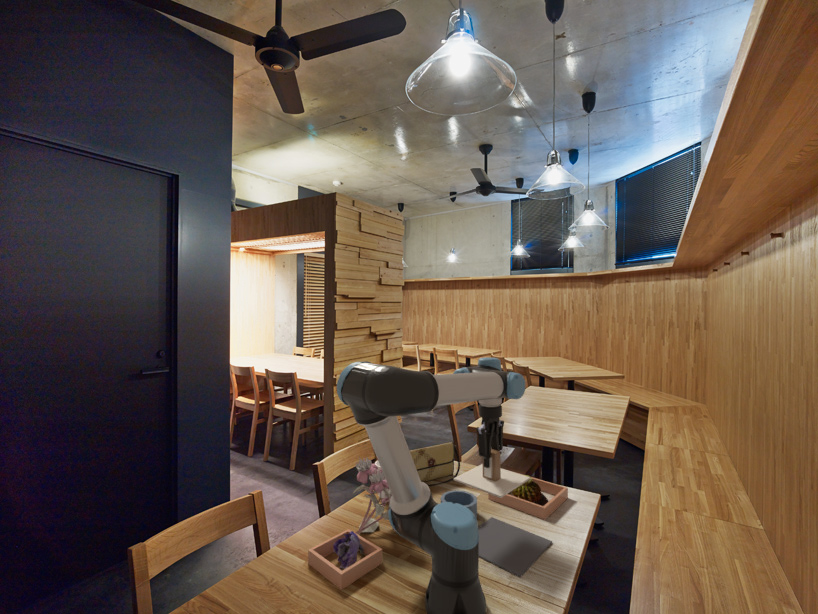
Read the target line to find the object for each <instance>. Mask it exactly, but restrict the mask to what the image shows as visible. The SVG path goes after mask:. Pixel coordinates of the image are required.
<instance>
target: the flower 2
mask: <svg viewBox="0 0 818 614" xmlns="http://www.w3.org/2000/svg"><path fill="white" fill-rule="evenodd" d="M358 459H359V460H358V461H357V462H355V468H356V469H357V471H358V473H357V475H356V480H357V482H360V483H361V485H360V486H359V487H357V488H356V489H354V490H353V493H352V495H354V494H355V493H358V492H361V491H362V490H365V491H366V492H367V493H368V494H365V493H364V495H363V498H365V497H366V498H367V499H369V503H368V507H367V511H366V512H365V515H364V516H363V519H362V521H361V523H360V525H359V527H358V530H356V531H354V533H356V534H358V535H359V534H361V533H374V532H376V530H377V528H378V527H379V524H380V523H379V521H381V520H382V519H383V520H386V521H389V516H388V511H389V510H390V507H389V505H390V499H391V496H392V494H391V491H390V490H389V486H388V484H387V481H386V480H384V479H385V476H384V474H383V471H382V470H379V471H377V469H378V467H377V466H376V465H375V463H372V460H370V459H369V458H368V456H366V458H363V459H362V458H361V457H360V456H358ZM380 469H381V467H380ZM368 480H369V481H370V483H371V484H370V486H367V485H366V484H368ZM382 491H384V492H385V496H386V497H387V498H384V499H383V498H381V492H382ZM378 493H380V497H379V498H377V496H376V494H378ZM380 502H381V503H380ZM372 503H373V504H372ZM387 503H388V508H387V510H385V506H386V505H387ZM371 507H374V508H373V510H372V511H371V512H370V510H371ZM369 512H370V514H369ZM374 514H375V515H374ZM373 515H374V518H372V517H373ZM378 516H380V517H378ZM376 518H377V519H376ZM391 527H392V526H391ZM392 530H393V531H395V530H394V529H393V527H392Z"/></svg>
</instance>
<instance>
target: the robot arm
mask: <svg viewBox="0 0 818 614" xmlns="http://www.w3.org/2000/svg"><path fill="white" fill-rule="evenodd" d="M477 361H478V362H477V365H473V366H467V367H465V366H464V367H461V368H457V369H455V370H454V371H453V373H443V374H433V373H431V372H430V371H428V370H426V371H425V370H412V369H405V368H402V367H398V366H394V365H386V364H380V363H372V362H370V361H355V362H351V363H350V364H349V365H347V366H346V367H345V368H344V369H343V370H342V371H341V373H340V374H339V377H338V379H337V381H336V394H337V397H338V399H339V400H340V401H341V402H342V403H343V404H344V405H346V406H348V407H349V408H350V410H351V413H352V415H353V418H354V420H355V422H356V423H357V425H359V426H363V427H364V428H365V430H366V433H367V436H368V439H369V441H370V443H371V446H372V448H373V451H374V454H375V456H376V459H377V461H379V464H380V466H381V469H382V471H383V474H384V476H385V479H386V481H387V484H388V486H389V489H390V491H391V494H392V496H391V499H390V505H389V504H388V508H389V507H390V509H389V511H388V516H389V520H388V522H389V523H390V526H391V527H393V528H392V530H393V529H394V530H393V531H394V532H396V533H397V534H398V535H399V536H400V537H402V538H404V539H405V540H408V541H409V542H410V543H411V544H413V545H415V546H416V547H418V548H420V550H422V551H424V552H425V553H427V554H428V555H429V556H430V557H431V576H430V579H429V580H428V584H427V588H426V591H425V594H424V595H425V596H424V607H425V608H424V609H425V612H426V614H487V601H486V600H487V599H486V596H485V593H484V590H483V588H482V584H481V580H480V577H479V567H480V566H479V565H480V564H479V558H480V557H479V531H478V527H479V525H478V520H477V519H476V517H475V515H474V514H473V512H472V511H471V510H470V509H468V508H467V507H465V506H463V505H461V504H458V503H455V504H453V503H452V502H443V503H441V502H440V503H438V502H436V501H435V499H434V497H433V494H432V492H431V489H430V486H428V485H429V484H427V483H425V482H421V480H420V478H419V475H418V472H417V470H416V467H415V464H414V462H413V459H412V456H411V454H410V449H409V446H408V443H407V441H406V437H405V435H404V432H403V429H402V427H401V425H400V422H399V419H398V417H401V416H403V417H404V416H411V415H416V414H417V415H418V414H421V413H429V412H431V411H433V410H435V409H436V407H440V406H449V405H456V404H464V403H471V402H478V403H479V405H478V415H479V416H480V418H481V423H480V426H477V427H476V433H477V442H478V443H477V445H478V456H479V457H483V458H484V476H486V477H489V478H492V457H491V449H494V450H497V451H500V455H502V453H503V452H502V451H503V447H504V445H503V443H504V425H505V421H504V420H501V418H502V416H503V406H502V405H501V404H502V403H503V402H502V400H503V398H505V399H509V400H520V399H521V398H522V397H523V396H524V395H525V391H526V380H525V377H524V376H523V374H521V373H518V372H513V371H506V370H502V361H501V360H500V358H497V357H485V356H484V357H480V358H479V359H478V360H477Z"/></svg>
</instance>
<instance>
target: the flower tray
mask: <svg viewBox="0 0 818 614" xmlns="http://www.w3.org/2000/svg"><path fill="white" fill-rule="evenodd" d="M351 531H352V530H351V529H349V528H348V529H345V530H343V531H342V532H340V533H338V534H336V535H333V536H332V537H330V538H327V540H324V541H323V542H320V543H318V544H317V545H314V546H313V547H311V548H309V549H307V564H308V565H309V566H310V567H312V568H313V569H314V570H315V571H316V572H318V573H319V574H321V575H322V576H323V577H324V578H325V579H326V580H328V581H330V582H331V583H332V584H334V586H336V587H337V588H338V589H340V590H343V589H345V588H347V587H348V586H349V585H351V584H353V583H354V582H355V581H357V580H359V579H360V578H361V577H364V576H365V575H366V574H367V573H370V572H371V571H373V570H374V569H375V568H377V567H379V566H380V565H382V564H383V548H381V547H380V546H378V545H376V544H375V543H373V542H372V541H370V540H368V539H366V538H364V537H363V536H361V535H359V534H356V533H355V532H354V533H355V534H356V535H357V536H358V537H359V540H360V544H361V545H362V547H363V549H364V553H363V555H364V556H365V557H362V558H361V559H359V560H358V561H356V563H354V564H353V565H351V566H349V567H348V568H346V569H345V570H344V569H341V568H340V567H337V566H336V565H335V564H333V563H332V562H330V561H329V560H328V559H326V558H325V557H327V556H329V555H331V554H333V553H335V552H334V548H333V545H334V543H335V542H336V541H338V539H342V538H345V536H344V534H349V532H351ZM349 536H350V535H349ZM349 538H350V537H349ZM358 552H360V550H359V549H358Z"/></svg>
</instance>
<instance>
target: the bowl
mask: <svg viewBox="0 0 818 614" xmlns="http://www.w3.org/2000/svg"><path fill="white" fill-rule="evenodd" d="M443 502H452V503H453V504H455V503H458V504H461V505H463V506H465V507H467V508H468V509H470V510H471V511H472V512H473V514H474V515H475V517H476V519H477V518H478V497H477V496H476V495H475V494H474V493H471V492H469V491H466V490H459V489H458V490H457V489H454V490H447V491H446V492H444V493H442V494H441V497H440V503H443Z"/></svg>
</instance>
